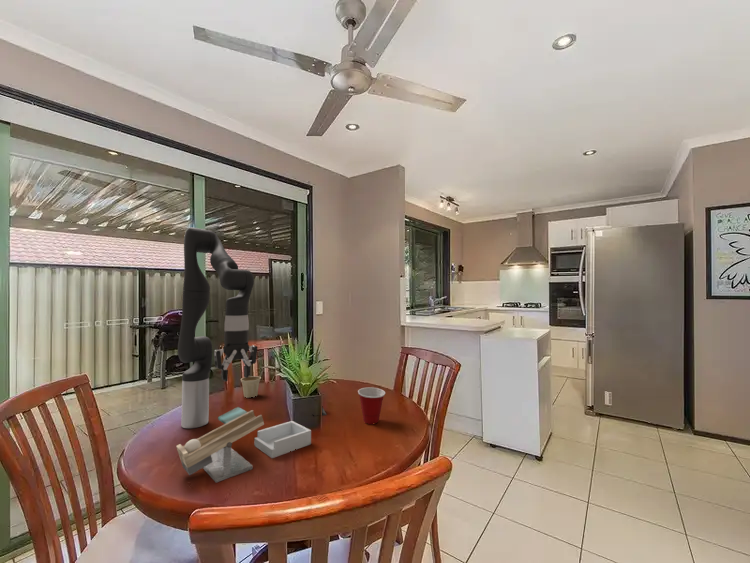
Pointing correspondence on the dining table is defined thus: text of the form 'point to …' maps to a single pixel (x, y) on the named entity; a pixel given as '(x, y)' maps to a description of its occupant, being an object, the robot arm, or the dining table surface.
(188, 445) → the ball
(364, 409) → the plastic cup
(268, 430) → the tray
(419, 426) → the dining table surface
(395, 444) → the dining table surface
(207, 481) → the dining table surface
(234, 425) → the lever
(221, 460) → the lever stand
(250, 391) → the flower pot
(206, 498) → the dining table surface
